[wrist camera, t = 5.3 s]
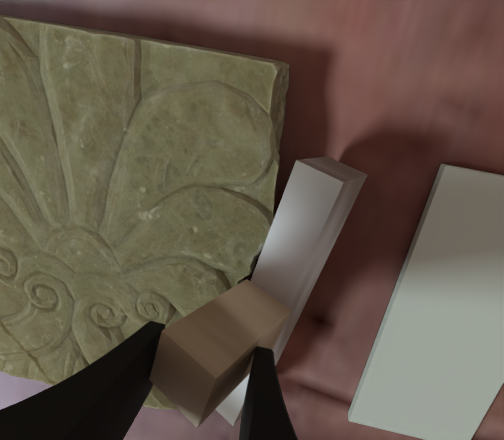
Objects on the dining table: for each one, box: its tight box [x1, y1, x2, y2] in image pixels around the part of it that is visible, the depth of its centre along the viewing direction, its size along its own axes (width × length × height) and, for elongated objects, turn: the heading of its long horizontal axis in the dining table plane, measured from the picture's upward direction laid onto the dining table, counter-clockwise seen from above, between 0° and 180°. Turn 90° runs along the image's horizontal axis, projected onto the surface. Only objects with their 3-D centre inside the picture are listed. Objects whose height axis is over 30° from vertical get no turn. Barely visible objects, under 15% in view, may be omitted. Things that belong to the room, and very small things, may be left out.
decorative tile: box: [0, 14, 289, 410], centre depth 18 cm, size 19×20×4 cm
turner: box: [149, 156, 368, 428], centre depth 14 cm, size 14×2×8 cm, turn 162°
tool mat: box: [348, 164, 504, 440], centre depth 18 cm, size 16×7×1 cm, turn 170°
